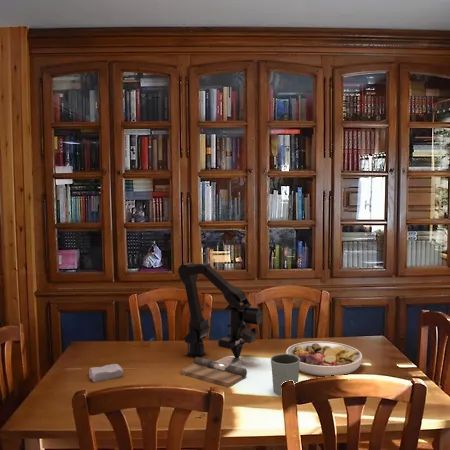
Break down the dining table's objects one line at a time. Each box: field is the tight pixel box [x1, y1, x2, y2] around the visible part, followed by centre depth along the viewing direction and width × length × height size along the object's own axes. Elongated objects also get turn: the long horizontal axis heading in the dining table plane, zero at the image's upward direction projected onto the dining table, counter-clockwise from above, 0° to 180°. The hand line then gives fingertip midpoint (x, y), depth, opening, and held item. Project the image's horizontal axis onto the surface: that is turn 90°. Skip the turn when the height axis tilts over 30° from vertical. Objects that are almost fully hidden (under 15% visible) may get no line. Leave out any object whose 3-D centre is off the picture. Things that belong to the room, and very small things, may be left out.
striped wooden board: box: [179, 357, 248, 388], centre depth 194 cm, size 23×12×4 cm, turn 55°
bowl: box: [285, 340, 363, 377], centre depth 204 cm, size 30×30×8 cm
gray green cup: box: [270, 353, 300, 396], centre depth 178 cm, size 10×10×12 cm
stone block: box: [88, 363, 124, 383], centre depth 195 cm, size 12×5×10 cm
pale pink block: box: [210, 355, 243, 372], centre depth 201 cm, size 7×11×4 cm, turn 142°
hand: (237, 358), depth 207 cm, fingers closed
